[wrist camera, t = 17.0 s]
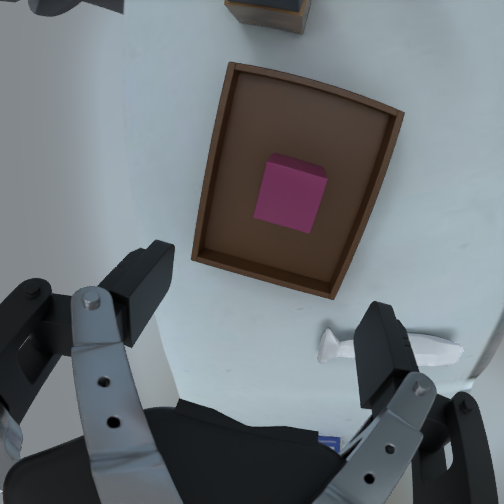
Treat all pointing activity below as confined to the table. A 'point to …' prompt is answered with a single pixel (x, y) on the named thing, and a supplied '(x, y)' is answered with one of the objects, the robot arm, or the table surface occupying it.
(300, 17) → the oak block
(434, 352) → the white fish figurine
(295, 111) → the tray
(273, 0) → the grey block
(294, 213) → the pink block
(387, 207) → the table surface
